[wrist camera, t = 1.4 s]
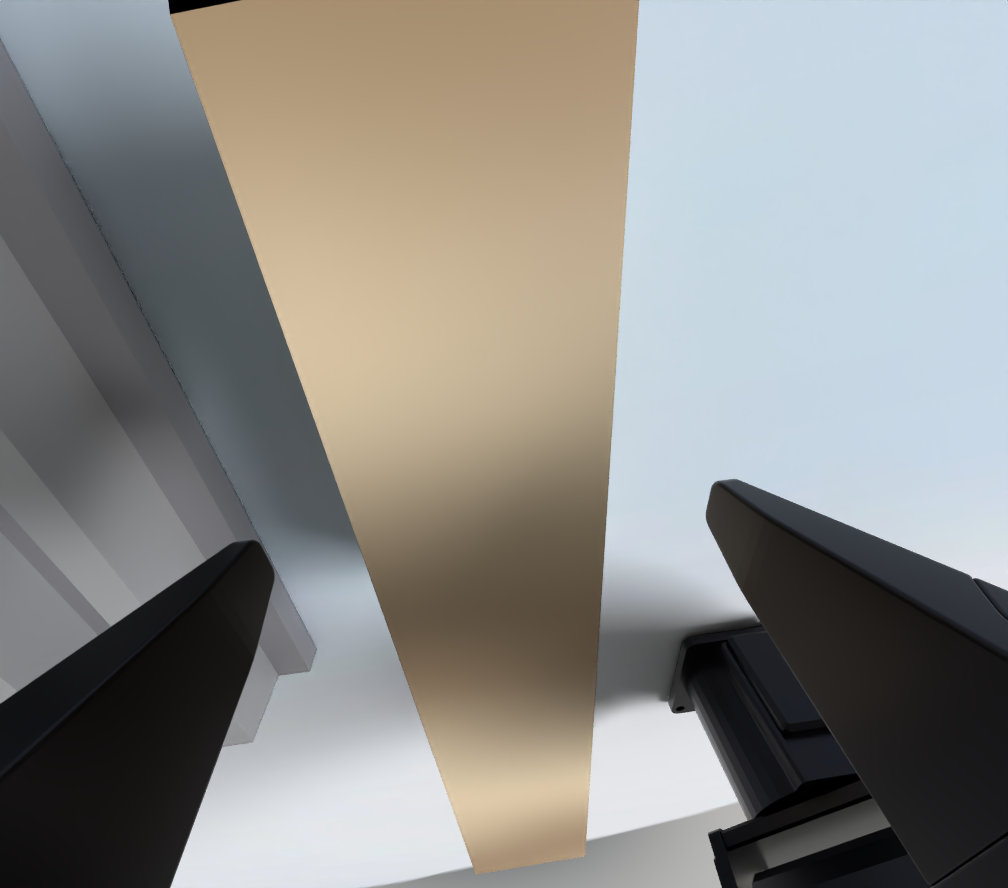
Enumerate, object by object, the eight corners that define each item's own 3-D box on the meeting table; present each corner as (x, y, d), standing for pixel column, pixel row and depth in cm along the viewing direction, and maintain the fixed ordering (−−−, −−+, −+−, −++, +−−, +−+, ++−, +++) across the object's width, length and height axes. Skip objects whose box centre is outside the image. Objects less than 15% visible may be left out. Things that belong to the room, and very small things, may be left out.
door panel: (525, 554, 17) (584, 856, 9) (447, 565, 16) (438, 880, 9) (494, 128, 10) (655, -256, 2) (358, 139, 9) (-126, -226, 2)
